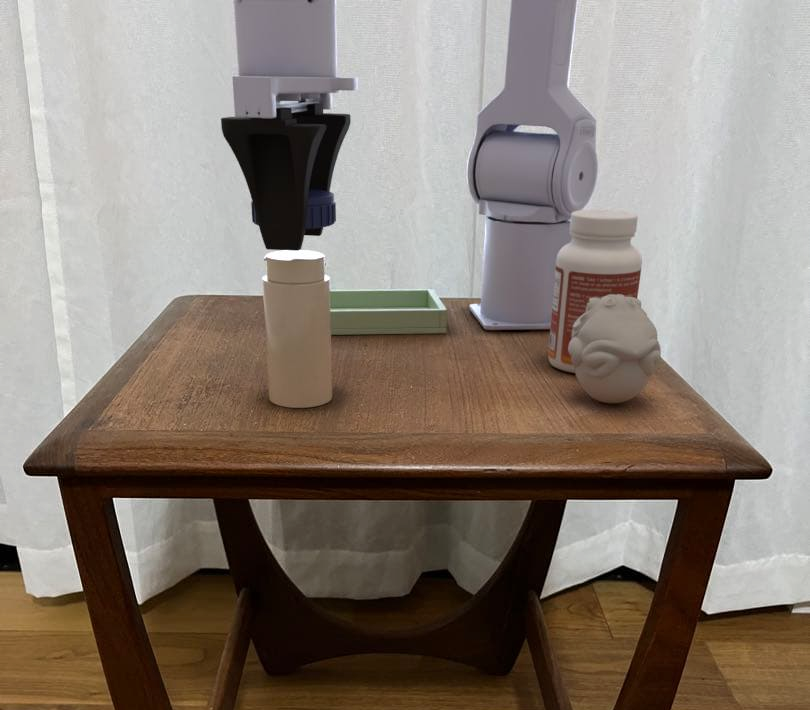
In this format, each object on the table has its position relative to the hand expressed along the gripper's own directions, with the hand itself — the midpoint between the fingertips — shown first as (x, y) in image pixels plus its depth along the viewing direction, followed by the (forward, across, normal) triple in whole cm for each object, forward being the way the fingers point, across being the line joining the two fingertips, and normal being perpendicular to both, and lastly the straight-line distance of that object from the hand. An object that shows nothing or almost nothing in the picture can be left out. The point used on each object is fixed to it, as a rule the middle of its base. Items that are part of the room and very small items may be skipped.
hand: (294, 241), depth 55 cm
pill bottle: (+10, +12, -20) cm, 25 cm away
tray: (+10, +21, -1) cm, 23 cm away
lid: (-2, 0, 0) cm, 2 cm away
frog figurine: (+10, +4, -21) cm, 24 cm away
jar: (+10, 0, 0) cm, 10 cm away
